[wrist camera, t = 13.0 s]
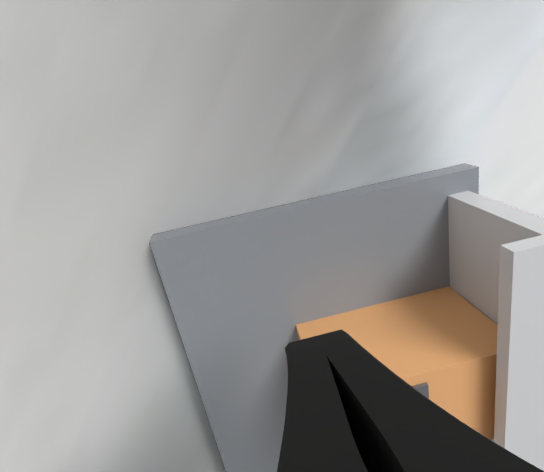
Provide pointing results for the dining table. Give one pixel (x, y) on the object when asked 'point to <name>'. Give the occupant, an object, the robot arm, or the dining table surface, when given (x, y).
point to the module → (429, 349)
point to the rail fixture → (352, 295)
